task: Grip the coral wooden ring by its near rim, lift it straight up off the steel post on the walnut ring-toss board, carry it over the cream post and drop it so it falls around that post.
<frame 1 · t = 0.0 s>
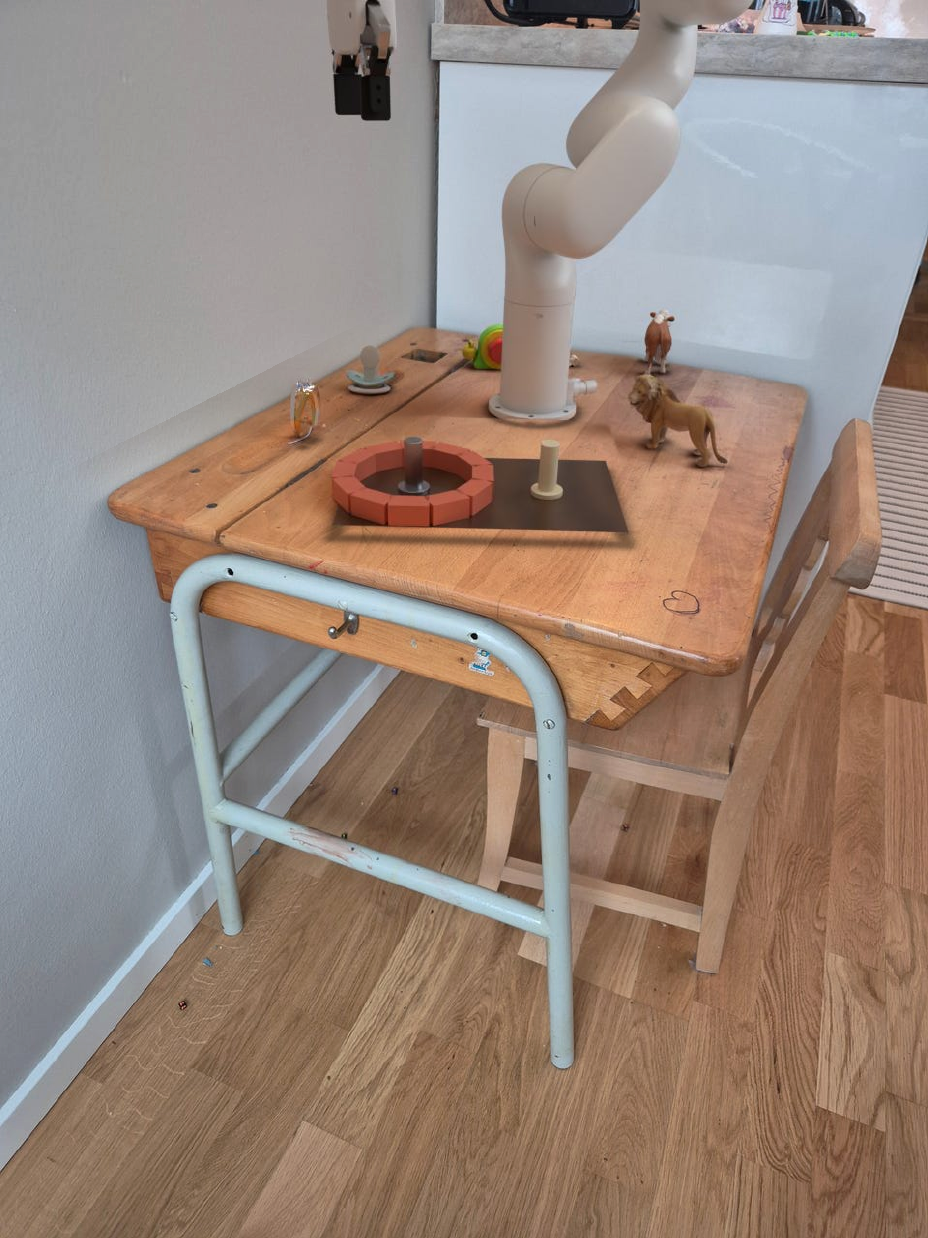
hand: (362, 117, 96), 37 cm above the table, tool pointing down, fingers open, 9 cm apart
pacifier: (370, 390, 131), on the table
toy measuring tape: (520, 367, 142), on the table
board: (479, 502, 98), on the table
bull figurine: (654, 367, 143), on the table
cream post: (545, 505, 98), resting on board
lion figurine: (669, 452, 112), on the table
ring 2: (308, 442, 113), on the table
steel post: (414, 502, 98), resting on board
ring: (413, 490, 97), point 1 cm above the table, touching board
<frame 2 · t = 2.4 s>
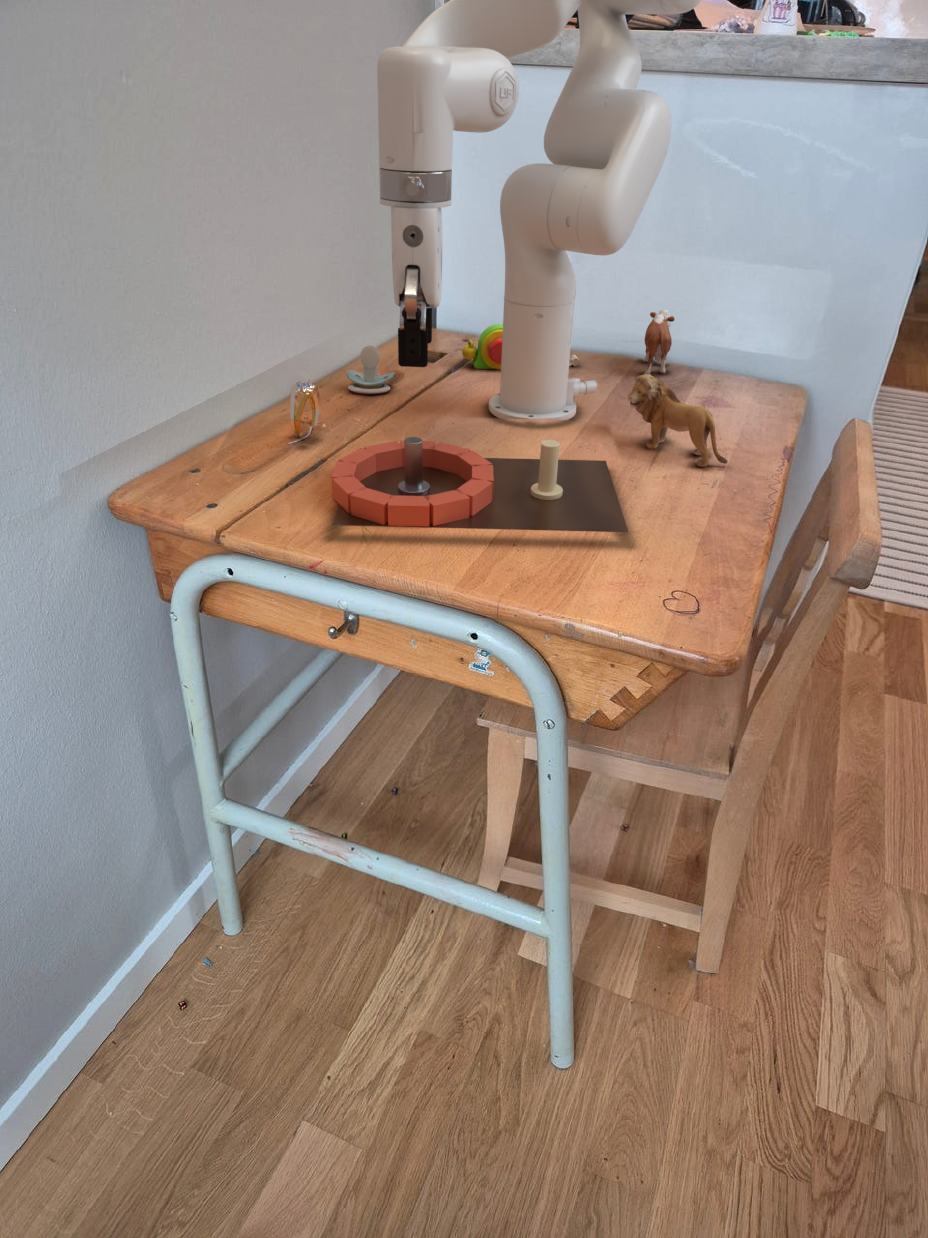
hand: (415, 353, 99), 14 cm above the table, tool pointing down, fingers open, 9 cm apart
nothing on the table moved.
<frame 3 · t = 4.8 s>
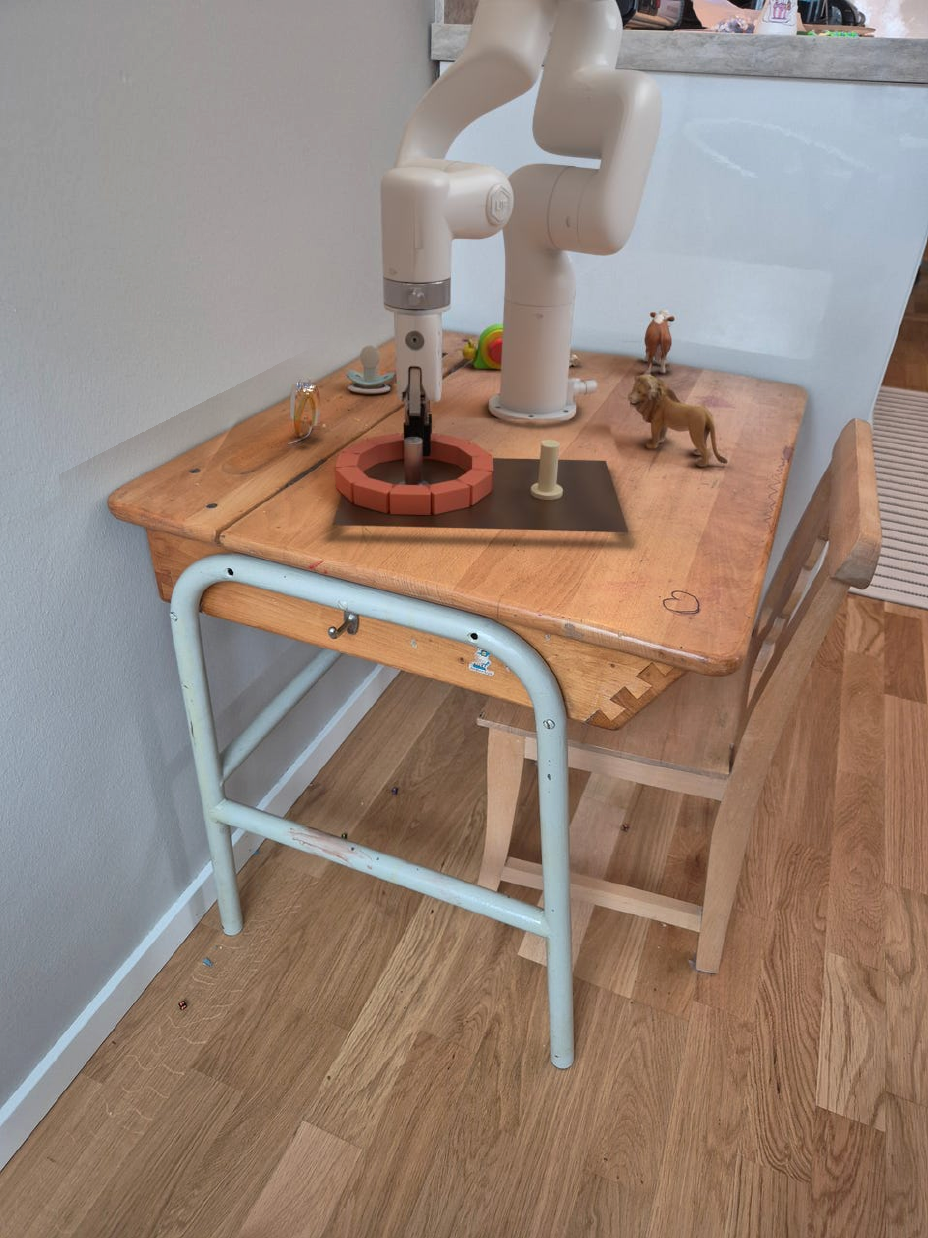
hand: (418, 448, 105), 2 cm above the table, tool pointing down, fingers closed on ring, 2 cm apart
ring: (415, 480, 99), point 2 cm above the table, touching board, gripper
everything else where it was.
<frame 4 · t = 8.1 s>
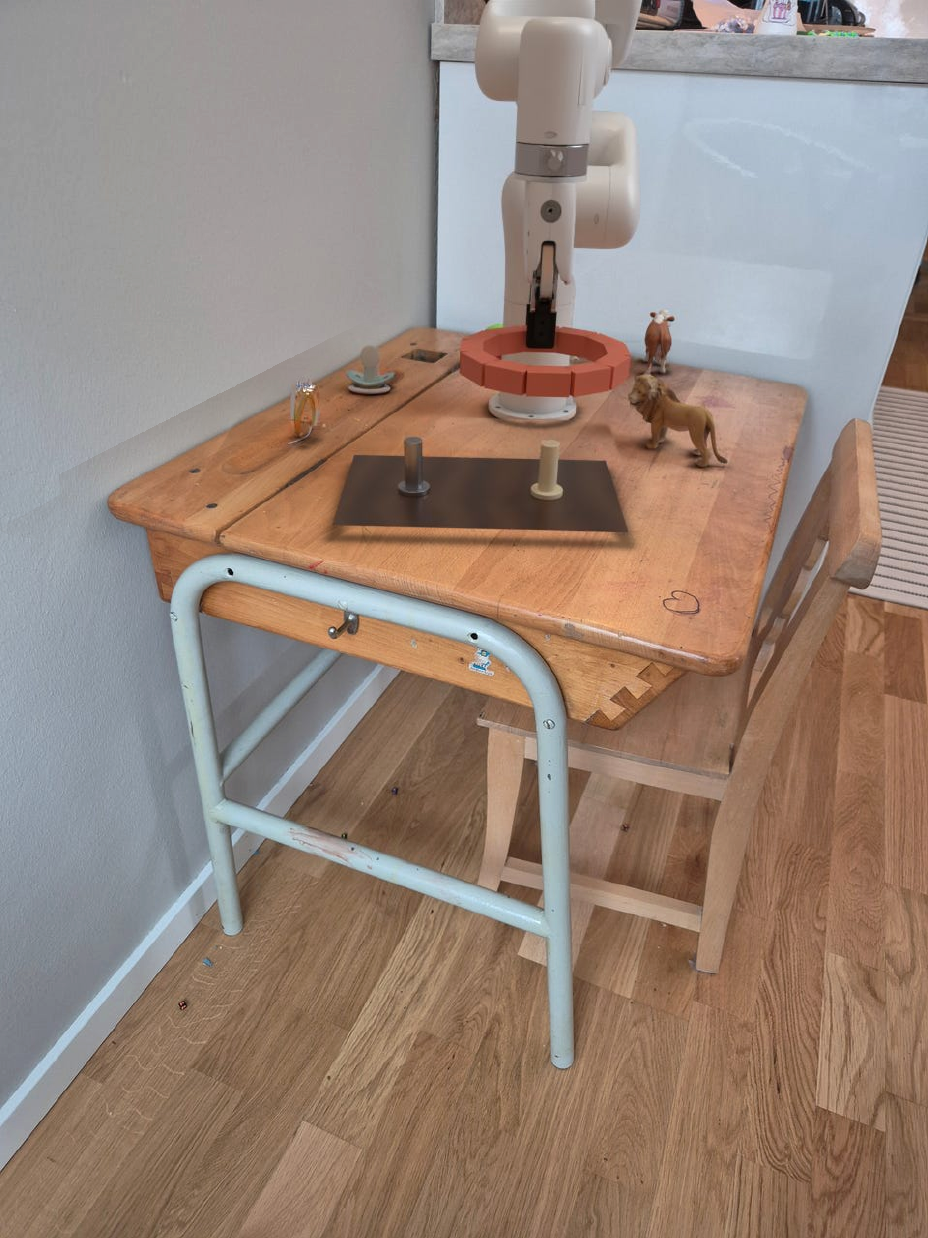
hand: (539, 342, 98), 15 cm above the table, tool pointing down, fingers closed on ring, 2 cm apart
ring: (542, 369, 92), point 15 cm above the table, touching gripper
everything else where it was.
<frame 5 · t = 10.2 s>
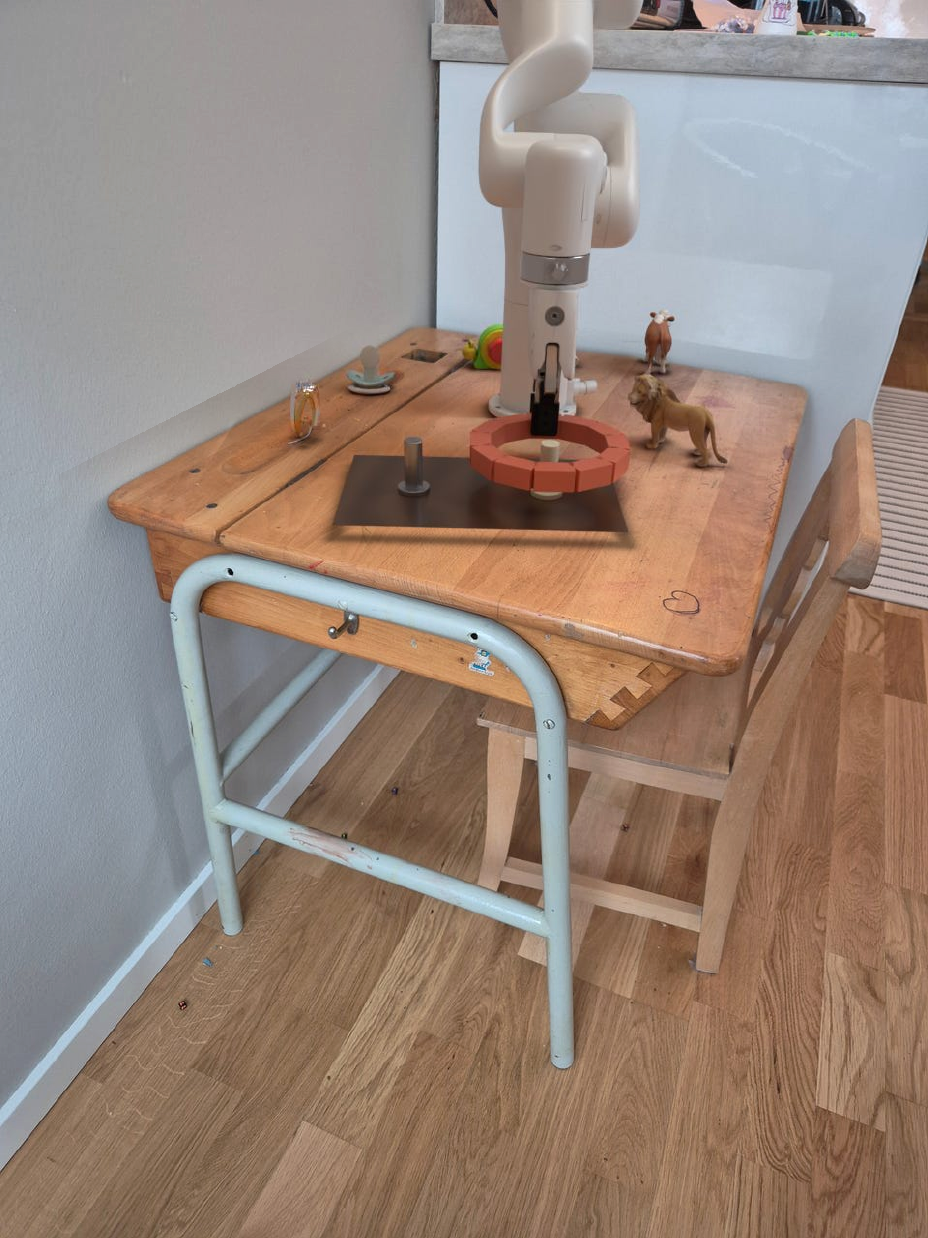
hand: (542, 429, 104), 5 cm above the table, tool pointing down, fingers closed on ring, 2 cm apart
ring: (547, 459, 98), point 4 cm above the table, touching gripper
everything else where it was.
when the fingers open (2 cm above the table, at t = 11.4 s): ring stays where it is, resting on board.
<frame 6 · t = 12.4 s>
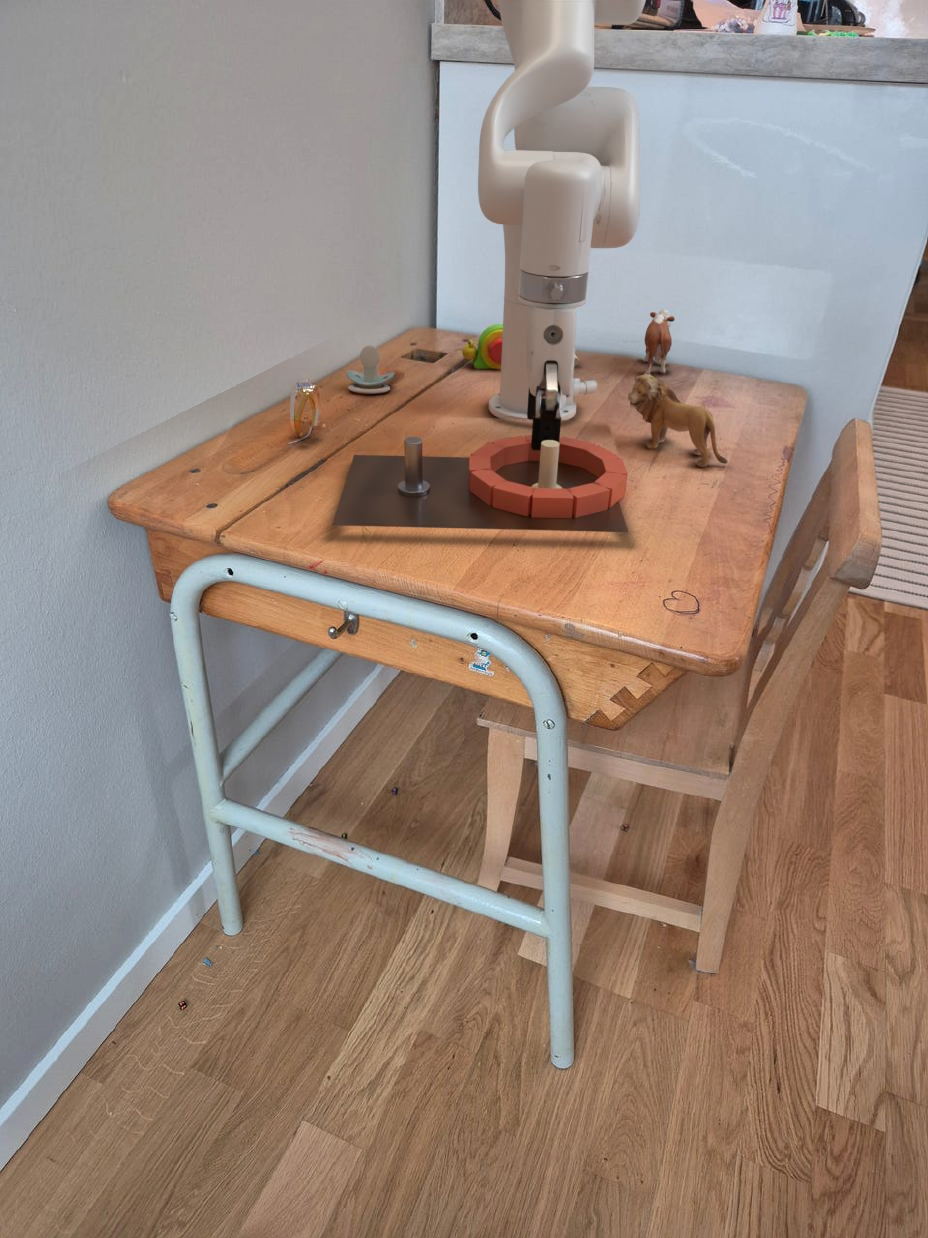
hand: (542, 433, 105), 4 cm above the table, tool pointing down, fingers open, 9 cm apart
ring: (545, 483, 99), point 1 cm above the table, touching board
everything else where it was.
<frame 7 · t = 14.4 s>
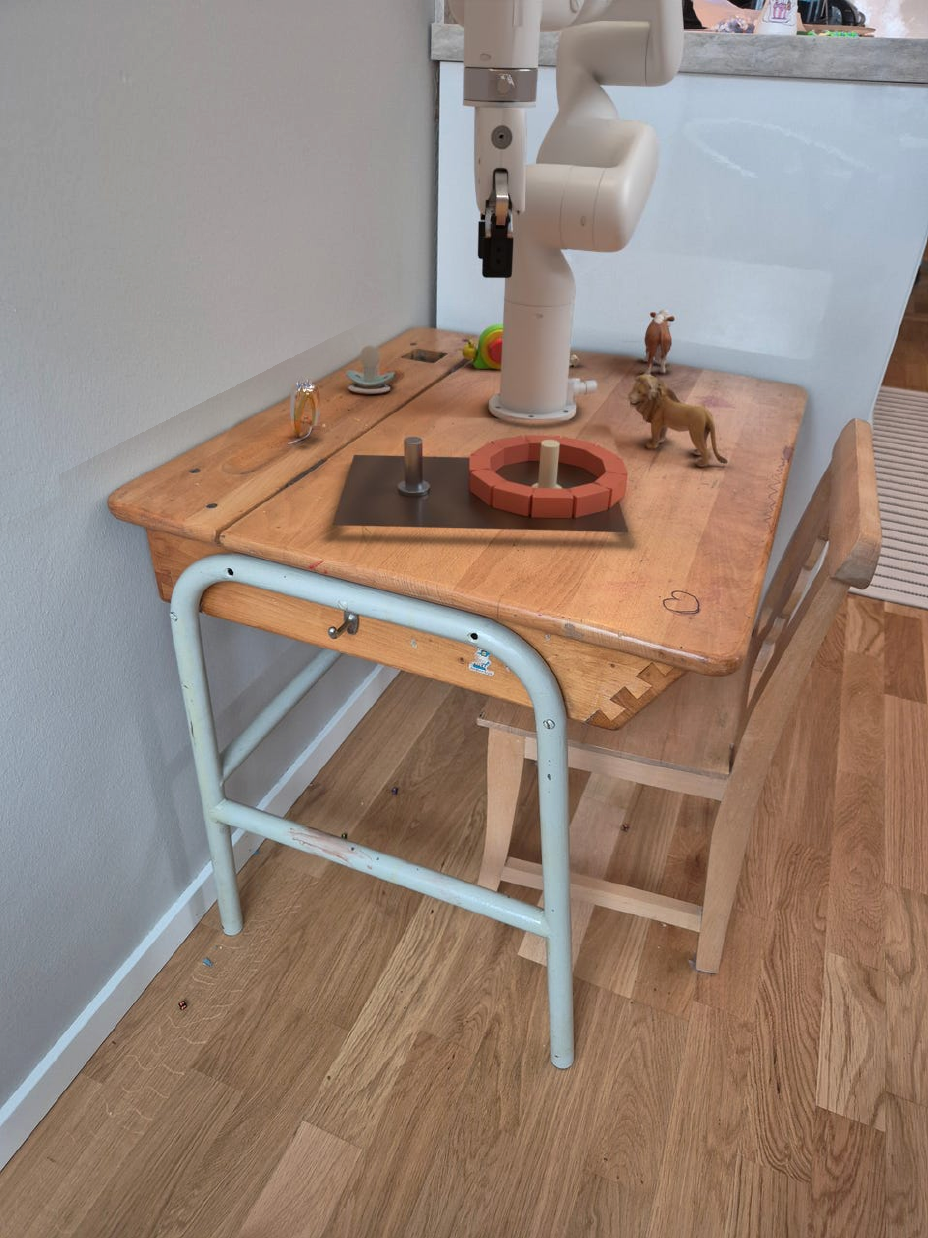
hand: (493, 267, 97), 23 cm above the table, tool pointing down, fingers open, 9 cm apart
nothing on the table moved.
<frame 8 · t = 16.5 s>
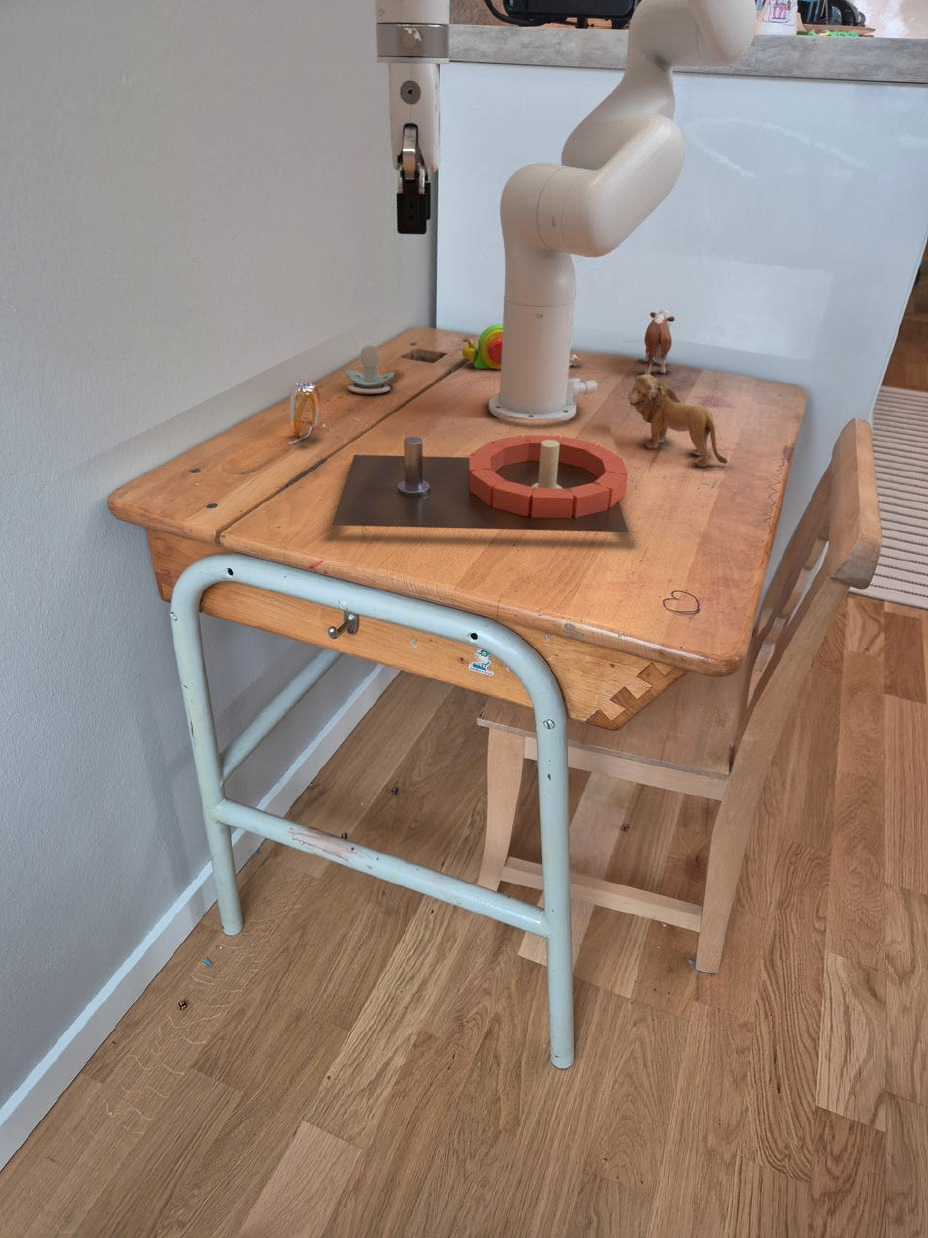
hand: (414, 226, 98), 26 cm above the table, tool pointing down, fingers open, 9 cm apart
nothing on the table moved.
at the end: ring 2.7 cm from the cream post (horizontally); ring point 1.5 cm above the table; ring tilted 0° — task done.
